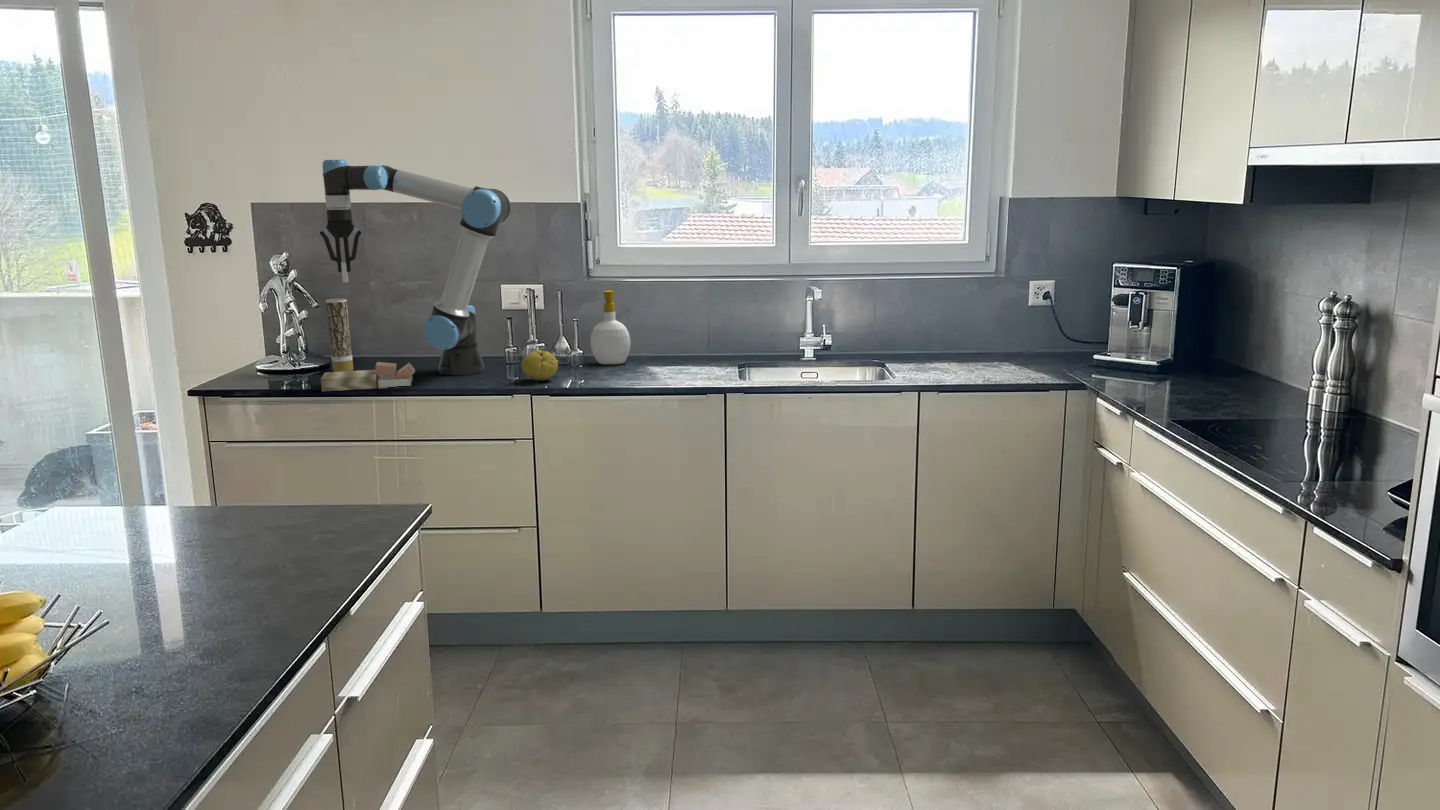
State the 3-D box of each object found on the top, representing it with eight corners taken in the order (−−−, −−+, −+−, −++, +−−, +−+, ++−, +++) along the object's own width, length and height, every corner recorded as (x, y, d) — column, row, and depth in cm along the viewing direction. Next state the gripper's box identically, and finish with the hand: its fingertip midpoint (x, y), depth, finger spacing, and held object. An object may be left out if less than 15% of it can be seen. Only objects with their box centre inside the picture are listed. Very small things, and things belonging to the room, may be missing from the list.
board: (379, 381, 332) (378, 369, 331) (376, 388, 321) (375, 376, 320) (326, 384, 328) (325, 372, 327) (321, 391, 317) (320, 379, 316)
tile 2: (394, 373, 330) (400, 380, 331) (393, 377, 324) (399, 384, 325) (409, 362, 330) (415, 369, 331) (408, 365, 325) (414, 372, 326)
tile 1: (395, 372, 330) (396, 363, 329) (394, 376, 324) (395, 366, 324) (376, 370, 328) (377, 361, 328) (375, 374, 323) (375, 365, 322)
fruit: (521, 378, 334) (519, 349, 332) (557, 376, 337) (555, 347, 334) (522, 385, 324) (521, 354, 321) (559, 383, 326) (558, 352, 324)
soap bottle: (632, 361, 363) (630, 288, 357) (629, 365, 354) (627, 291, 348) (593, 361, 363) (590, 289, 357) (589, 365, 355) (586, 292, 349)
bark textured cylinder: (346, 373, 345) (339, 301, 339) (328, 373, 346) (321, 300, 340) (357, 370, 351) (350, 298, 346) (339, 369, 353) (332, 298, 347)
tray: (412, 379, 335) (411, 371, 334) (410, 386, 323) (410, 378, 323) (381, 381, 332) (380, 373, 332) (378, 388, 321) (377, 380, 320)
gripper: (361, 208, 328) (367, 280, 334) (318, 208, 325) (325, 281, 331) (359, 208, 321) (365, 282, 327) (315, 209, 318) (323, 284, 324)
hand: (345, 282), depth 329 cm, fingers closed
